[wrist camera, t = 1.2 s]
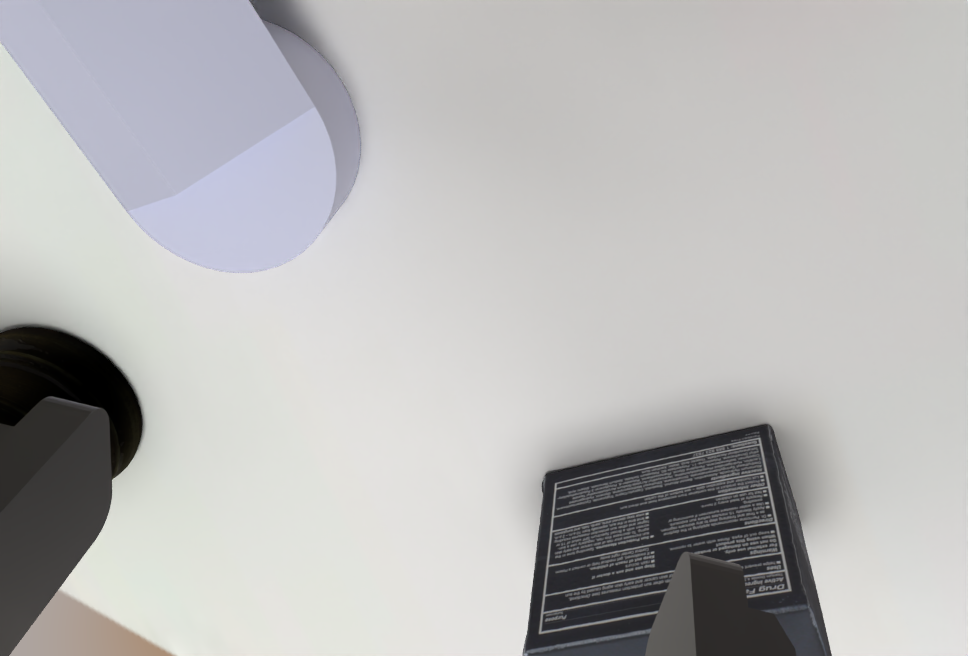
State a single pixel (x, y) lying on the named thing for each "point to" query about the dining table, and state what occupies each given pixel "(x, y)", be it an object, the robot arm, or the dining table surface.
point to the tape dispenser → (196, 120)
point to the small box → (667, 543)
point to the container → (67, 384)
